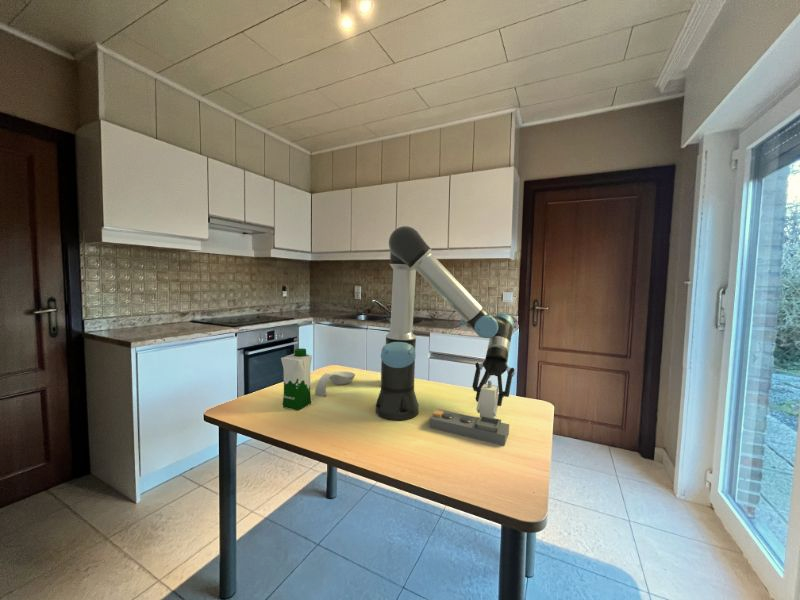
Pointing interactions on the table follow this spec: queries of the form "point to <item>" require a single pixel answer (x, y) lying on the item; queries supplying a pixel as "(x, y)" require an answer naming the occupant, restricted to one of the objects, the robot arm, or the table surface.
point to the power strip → (471, 426)
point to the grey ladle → (336, 378)
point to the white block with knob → (488, 399)
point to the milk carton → (296, 380)
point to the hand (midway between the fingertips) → (486, 412)
